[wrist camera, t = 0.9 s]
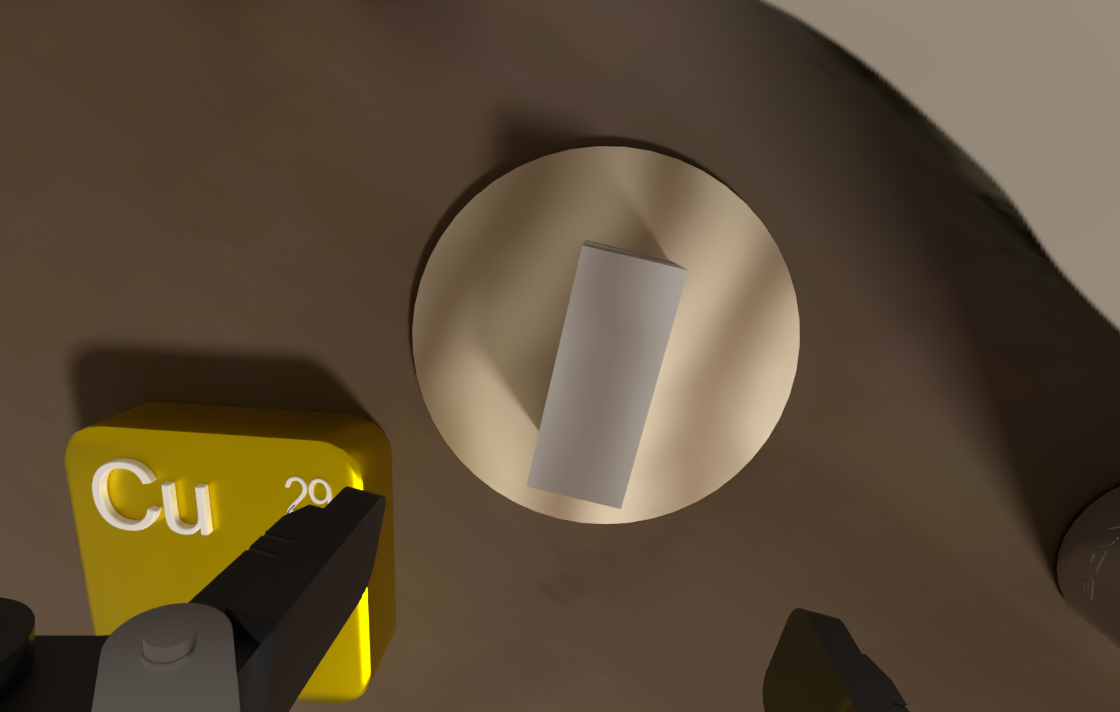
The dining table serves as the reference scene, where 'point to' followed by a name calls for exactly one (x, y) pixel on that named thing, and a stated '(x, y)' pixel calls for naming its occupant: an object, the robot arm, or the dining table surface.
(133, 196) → the dining table surface
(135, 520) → the element tile
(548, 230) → the lid
